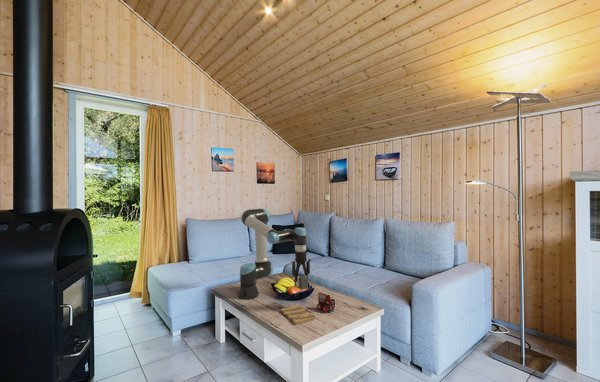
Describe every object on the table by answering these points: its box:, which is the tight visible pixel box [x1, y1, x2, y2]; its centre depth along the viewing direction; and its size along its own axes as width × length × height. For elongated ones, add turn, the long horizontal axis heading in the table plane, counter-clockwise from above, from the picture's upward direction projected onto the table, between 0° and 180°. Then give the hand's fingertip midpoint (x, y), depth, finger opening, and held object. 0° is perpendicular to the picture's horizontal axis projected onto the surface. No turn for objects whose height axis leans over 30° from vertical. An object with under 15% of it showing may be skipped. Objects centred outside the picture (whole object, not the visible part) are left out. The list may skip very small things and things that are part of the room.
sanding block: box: [294, 273, 309, 291], centre depth 196 cm, size 9×5×8 cm, turn 29°
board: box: [280, 304, 316, 326], centre depth 183 cm, size 22×13×2 cm, turn 28°
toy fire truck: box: [316, 291, 335, 313], centre depth 190 cm, size 7×12×10 cm, turn 43°
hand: (301, 285), depth 196 cm, fingers closed on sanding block, 5 cm apart
